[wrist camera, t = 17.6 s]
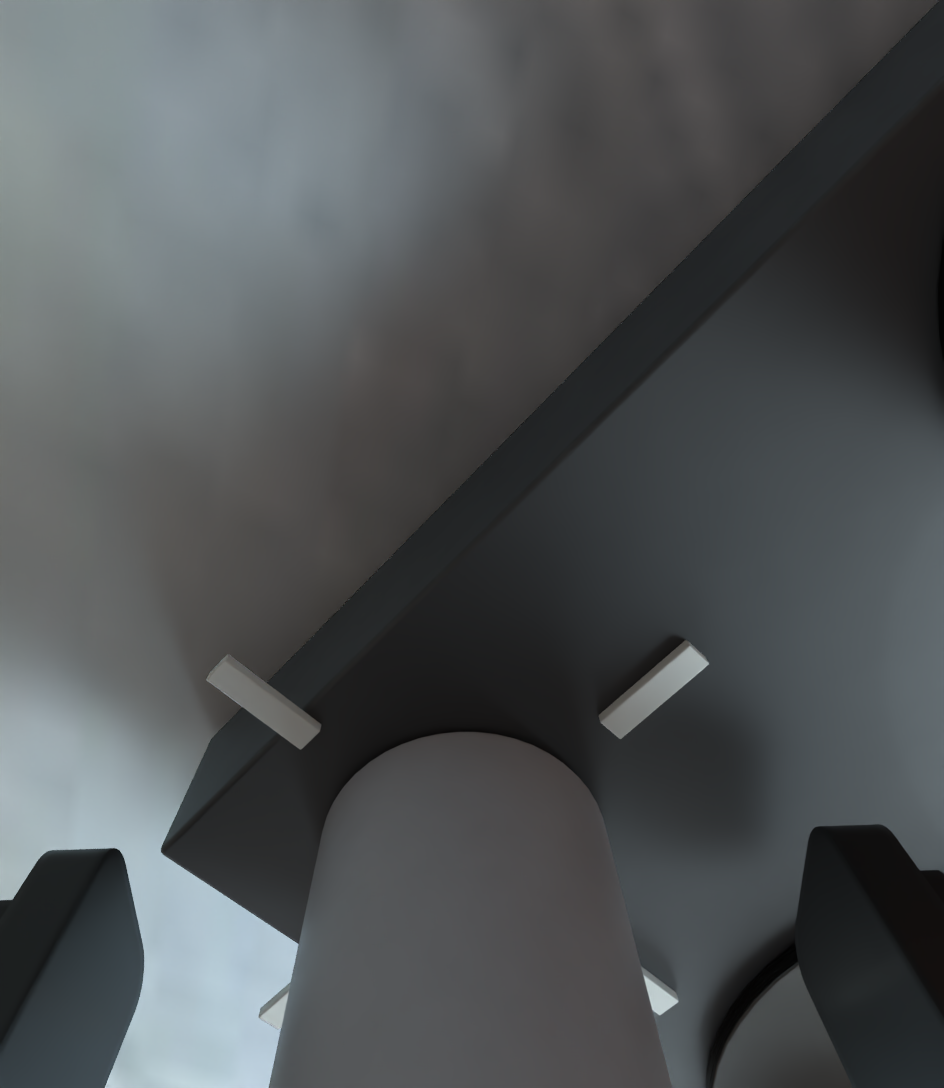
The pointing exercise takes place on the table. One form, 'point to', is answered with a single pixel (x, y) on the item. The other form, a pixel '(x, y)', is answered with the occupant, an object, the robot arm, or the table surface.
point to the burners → (781, 1006)
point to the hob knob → (467, 932)
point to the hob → (673, 582)
